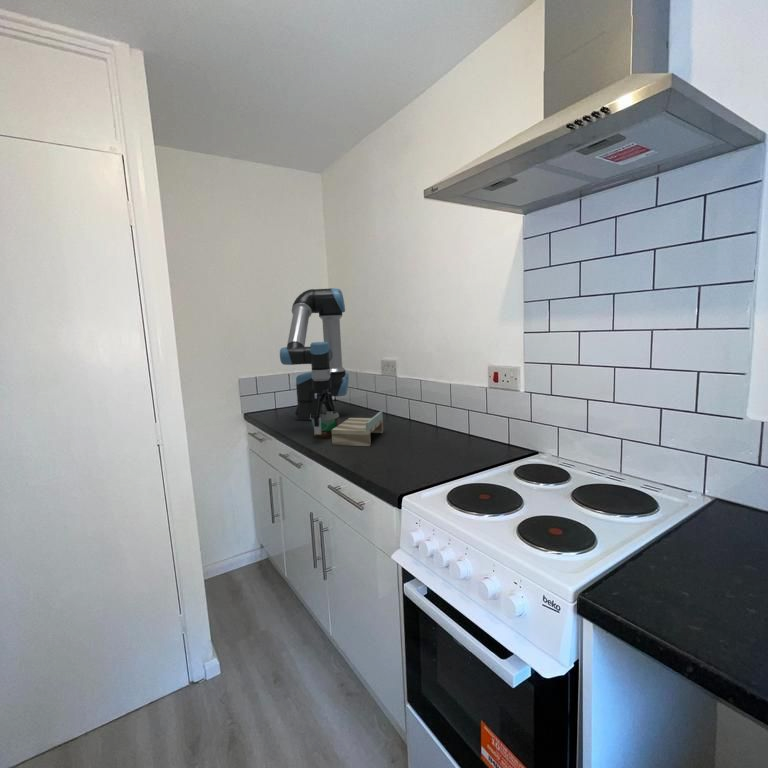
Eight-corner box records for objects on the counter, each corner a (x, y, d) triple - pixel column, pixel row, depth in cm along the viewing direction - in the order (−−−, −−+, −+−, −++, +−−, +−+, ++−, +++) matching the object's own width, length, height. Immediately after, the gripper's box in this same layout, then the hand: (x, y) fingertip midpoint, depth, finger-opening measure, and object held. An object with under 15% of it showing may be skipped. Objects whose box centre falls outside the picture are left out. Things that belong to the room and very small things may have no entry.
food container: (309, 439, 172) (307, 416, 171) (311, 436, 178) (309, 413, 177) (339, 438, 172) (337, 414, 171) (340, 434, 178) (338, 411, 177)
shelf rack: (350, 431, 184) (349, 411, 183) (383, 431, 180) (382, 411, 179) (332, 445, 163) (331, 422, 162) (369, 446, 159) (368, 423, 158)
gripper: (318, 383, 159) (321, 437, 162) (340, 376, 183) (342, 423, 186) (299, 383, 161) (303, 437, 164) (324, 376, 185) (327, 423, 188)
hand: (324, 430), depth 175 cm, fingers open, 13 cm apart
